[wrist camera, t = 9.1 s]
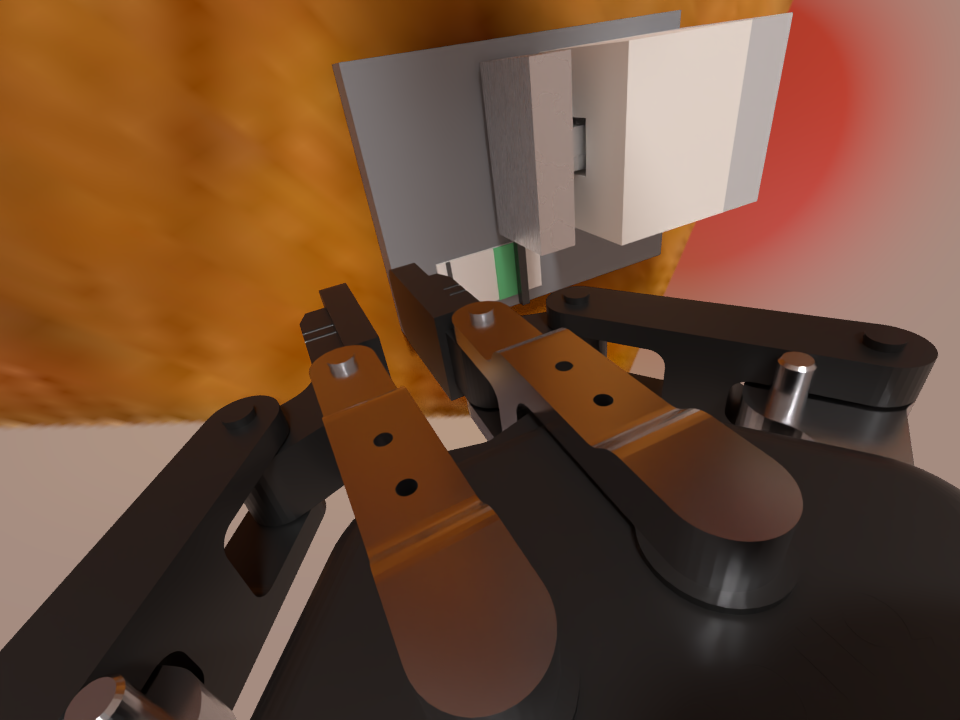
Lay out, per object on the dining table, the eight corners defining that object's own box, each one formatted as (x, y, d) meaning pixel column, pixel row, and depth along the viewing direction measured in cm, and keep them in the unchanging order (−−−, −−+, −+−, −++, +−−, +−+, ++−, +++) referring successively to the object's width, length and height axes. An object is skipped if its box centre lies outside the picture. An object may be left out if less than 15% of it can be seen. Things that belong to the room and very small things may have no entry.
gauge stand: (331, 64, 26) (377, 52, 18) (658, 13, 32) (797, -12, 24) (401, 330, 35) (452, 399, 27) (644, 248, 42) (740, 284, 34)
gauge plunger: (479, 62, 26) (528, 56, 22) (639, 35, 30) (709, 25, 25) (507, 305, 35) (546, 335, 31) (628, 262, 38) (679, 284, 34)
